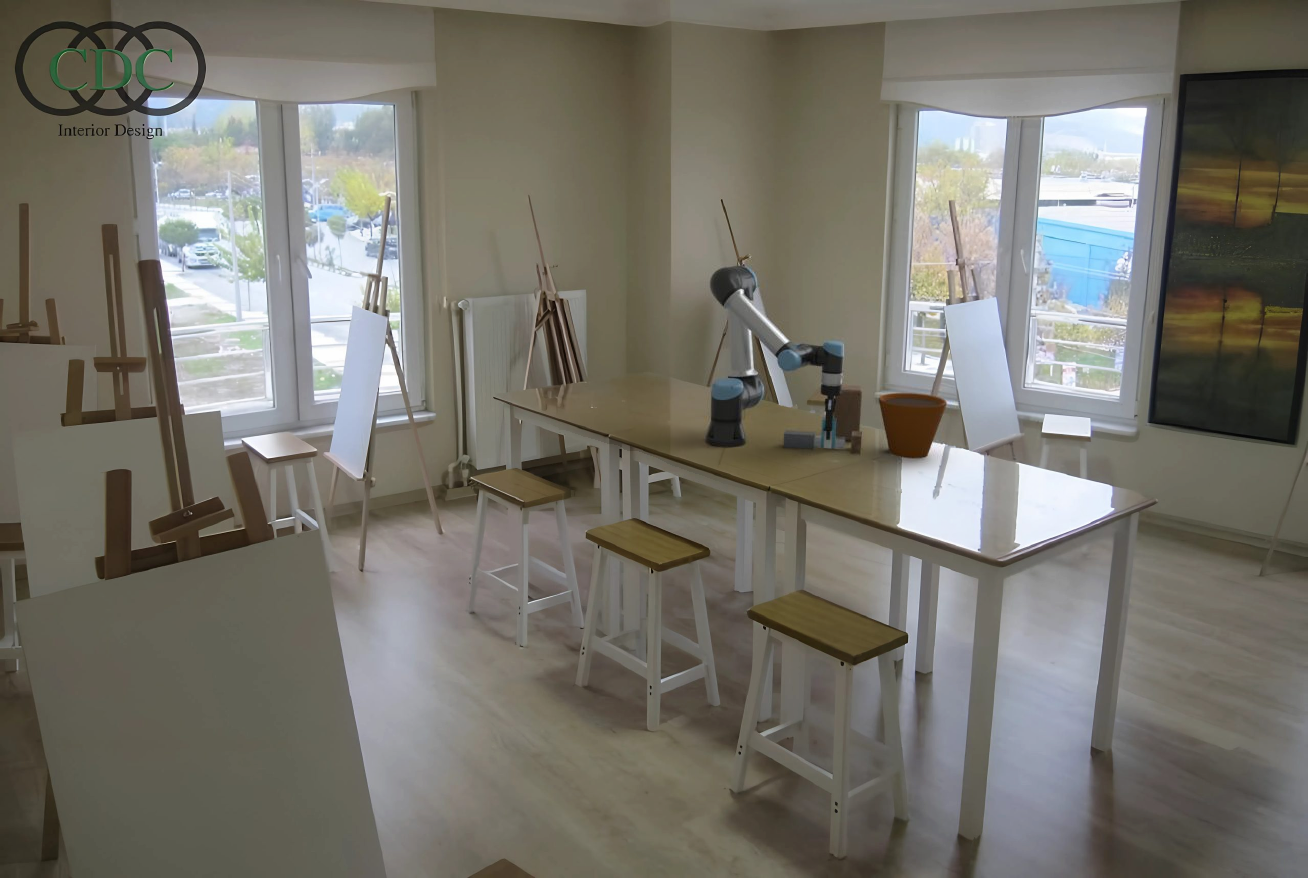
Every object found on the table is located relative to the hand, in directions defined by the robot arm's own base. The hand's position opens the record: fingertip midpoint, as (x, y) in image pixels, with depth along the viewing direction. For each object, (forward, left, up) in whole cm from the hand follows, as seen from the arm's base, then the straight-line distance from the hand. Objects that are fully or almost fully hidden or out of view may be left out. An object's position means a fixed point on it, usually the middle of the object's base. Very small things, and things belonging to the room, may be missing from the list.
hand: (827, 445), depth 386 cm
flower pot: (+29, +2, -1) cm, 29 cm away
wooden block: (+6, +19, -1) cm, 20 cm away
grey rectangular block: (-11, 0, -1) cm, 11 cm away
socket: (+10, 0, -1) cm, 10 cm away
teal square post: (-3, 0, 0) cm, 4 cm away
